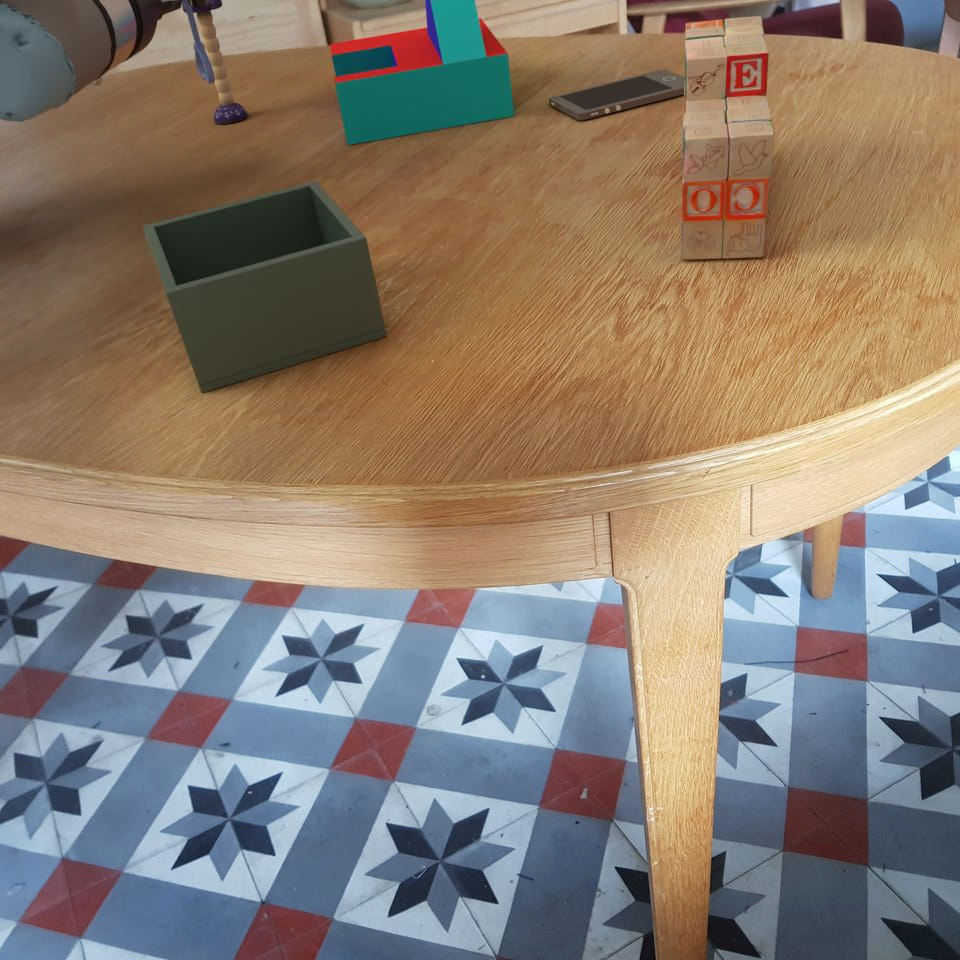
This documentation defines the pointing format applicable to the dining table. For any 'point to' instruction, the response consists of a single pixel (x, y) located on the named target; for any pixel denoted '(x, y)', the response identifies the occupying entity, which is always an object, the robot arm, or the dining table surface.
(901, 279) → the dining table surface
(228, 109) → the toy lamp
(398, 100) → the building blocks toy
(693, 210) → the stack of blocks
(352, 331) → the toy bin
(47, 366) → the dining table surface
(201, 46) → the baby rattle
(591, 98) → the smartphone
